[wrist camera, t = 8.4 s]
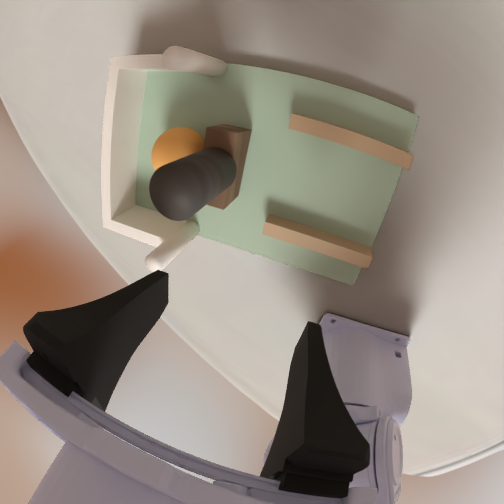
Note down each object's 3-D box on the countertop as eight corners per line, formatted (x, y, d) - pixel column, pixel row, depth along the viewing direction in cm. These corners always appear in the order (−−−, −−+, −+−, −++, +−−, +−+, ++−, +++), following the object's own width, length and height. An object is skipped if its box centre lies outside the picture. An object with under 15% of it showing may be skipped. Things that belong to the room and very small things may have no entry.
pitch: (415, 113, 15) (454, 116, 9) (351, 281, 23) (352, 341, 17) (138, 58, 18) (78, 54, 12) (125, 207, 26) (76, 238, 20)
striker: (257, 131, 18) (208, 146, 11) (243, 197, 20) (194, 247, 14) (219, 122, 18) (153, 136, 11) (208, 187, 21) (147, 231, 14)
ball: (145, 128, 15) (163, 121, 19) (141, 187, 17) (158, 170, 21) (208, 135, 16) (215, 127, 19) (199, 195, 18) (207, 177, 21)
